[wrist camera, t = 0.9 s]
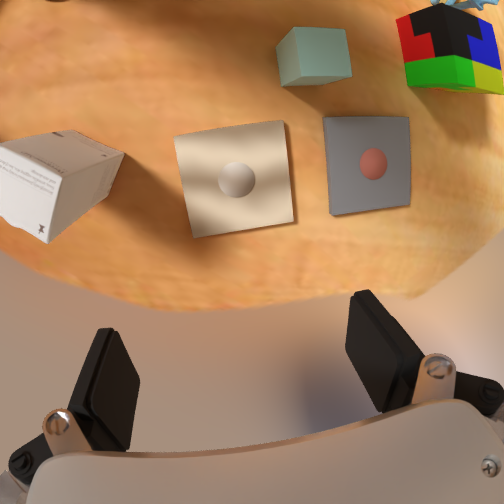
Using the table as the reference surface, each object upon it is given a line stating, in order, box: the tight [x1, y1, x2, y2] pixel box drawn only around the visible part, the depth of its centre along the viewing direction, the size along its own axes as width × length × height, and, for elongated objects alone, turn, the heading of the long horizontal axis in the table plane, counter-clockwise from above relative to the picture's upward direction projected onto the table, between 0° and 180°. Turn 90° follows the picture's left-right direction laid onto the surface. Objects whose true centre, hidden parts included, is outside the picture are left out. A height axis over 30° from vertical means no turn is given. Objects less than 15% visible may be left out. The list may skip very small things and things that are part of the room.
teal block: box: [275, 27, 352, 87], centre depth 25 cm, size 5×5×8 cm
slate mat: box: [323, 116, 411, 216], centre depth 34 cm, size 12×12×1 cm
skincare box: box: [0, 130, 124, 244], centre depth 23 cm, size 8×6×15 cm
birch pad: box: [174, 120, 294, 238], centre depth 33 cm, size 12×12×1 cm
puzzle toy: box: [396, 3, 504, 95], centre depth 24 cm, size 10×10×10 cm
